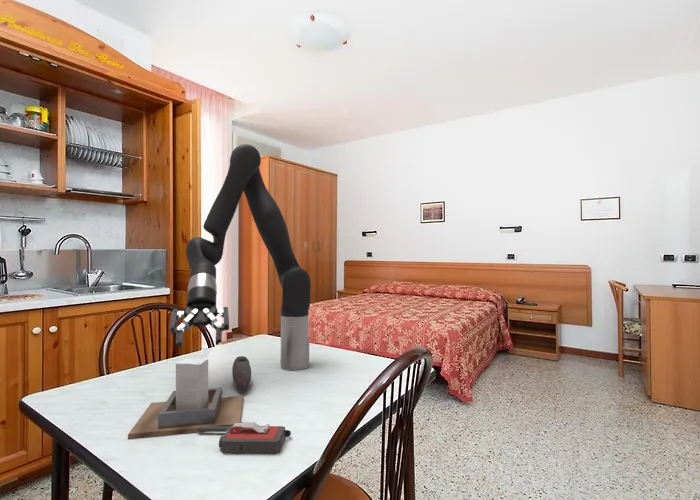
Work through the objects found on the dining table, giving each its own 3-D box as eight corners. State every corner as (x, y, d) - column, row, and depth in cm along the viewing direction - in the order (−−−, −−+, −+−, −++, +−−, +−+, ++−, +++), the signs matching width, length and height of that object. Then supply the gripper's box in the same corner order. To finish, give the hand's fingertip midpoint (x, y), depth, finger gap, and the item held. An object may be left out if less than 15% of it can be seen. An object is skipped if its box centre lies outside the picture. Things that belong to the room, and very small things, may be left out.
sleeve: (221, 399, 94) (221, 387, 94) (214, 423, 81) (214, 409, 81) (173, 403, 92) (173, 390, 92) (157, 428, 79) (158, 414, 79)
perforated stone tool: (252, 395, 100) (252, 369, 100) (232, 397, 98) (232, 371, 98) (250, 376, 114) (250, 354, 114) (232, 378, 112) (232, 355, 112)
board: (243, 399, 97) (243, 395, 97) (239, 428, 81) (239, 423, 81) (151, 406, 92) (151, 402, 92) (127, 438, 76) (128, 434, 76)
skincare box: (208, 408, 88) (209, 358, 88) (200, 416, 84) (200, 364, 84) (184, 407, 89) (184, 357, 89) (174, 415, 85) (175, 363, 85)
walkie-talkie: (292, 433, 80) (200, 432, 80) (293, 413, 80) (200, 412, 80) (285, 456, 71) (181, 455, 71) (285, 433, 71) (181, 432, 71)
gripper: (172, 285, 98) (165, 338, 88) (229, 283, 103) (229, 334, 92) (175, 302, 104) (169, 355, 93) (229, 300, 108) (229, 350, 97)
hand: (199, 344), depth 92 cm, fingers open, 8 cm apart
